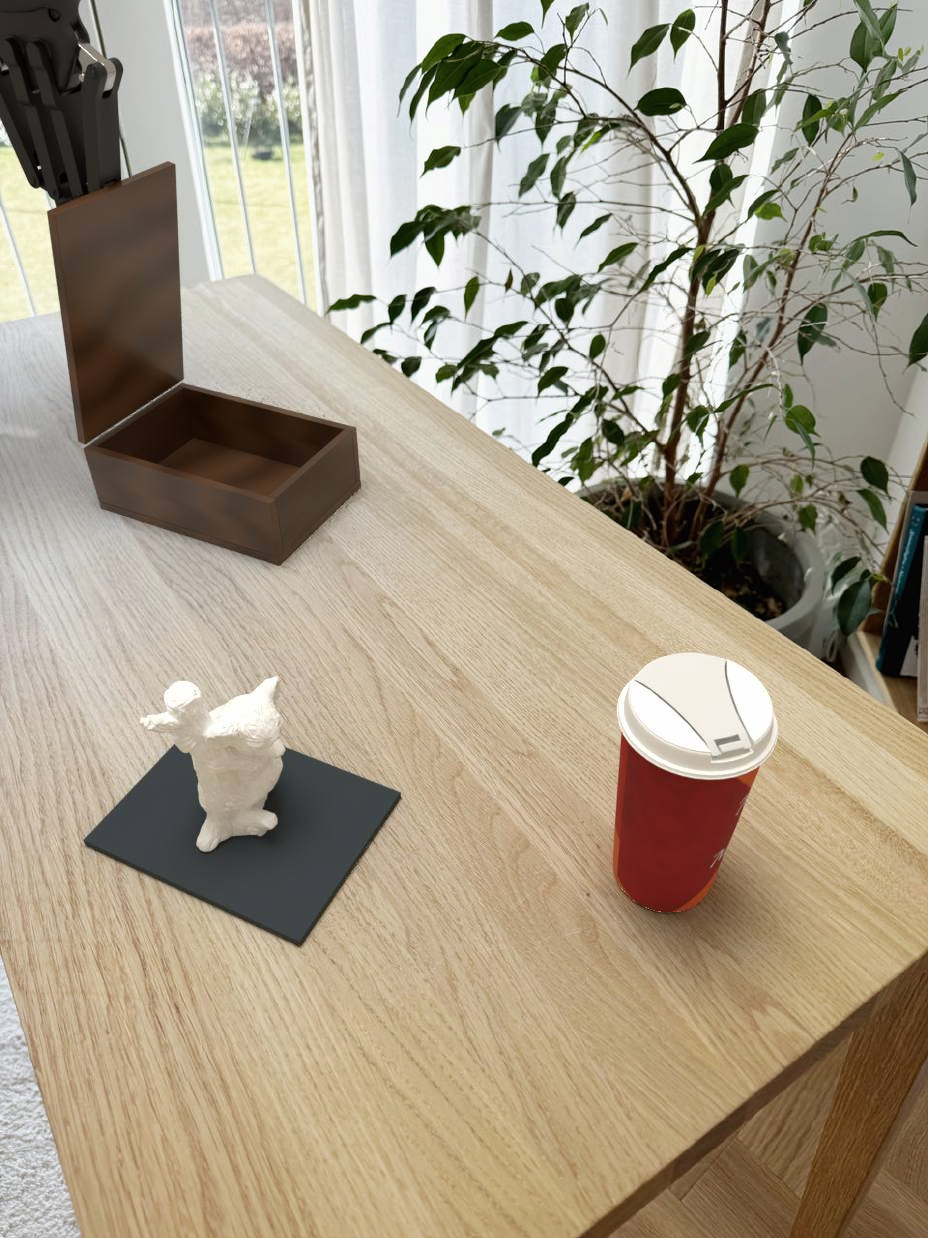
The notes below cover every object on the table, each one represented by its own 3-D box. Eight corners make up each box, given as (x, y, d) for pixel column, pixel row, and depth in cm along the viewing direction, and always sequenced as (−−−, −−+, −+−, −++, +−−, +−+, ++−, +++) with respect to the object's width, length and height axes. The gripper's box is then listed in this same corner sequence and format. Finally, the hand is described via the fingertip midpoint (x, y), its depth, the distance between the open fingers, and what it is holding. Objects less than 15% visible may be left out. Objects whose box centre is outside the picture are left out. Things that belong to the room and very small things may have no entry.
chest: (361, 486, 92) (356, 427, 87) (279, 565, 82) (269, 503, 78) (193, 439, 98) (181, 382, 94) (100, 508, 89) (82, 448, 85)
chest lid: (175, 163, 79) (167, 160, 79) (55, 214, 70) (46, 210, 70) (184, 379, 94) (177, 376, 94) (85, 445, 84) (77, 441, 84)
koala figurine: (198, 883, 58) (157, 749, 50) (157, 809, 62) (113, 674, 54) (324, 819, 62) (303, 684, 54) (277, 752, 66) (252, 618, 58)
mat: (84, 845, 61) (82, 840, 60) (203, 718, 69) (202, 713, 69) (300, 946, 55) (299, 942, 55) (401, 797, 64) (401, 792, 63)
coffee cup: (755, 911, 57) (816, 739, 47) (626, 947, 55) (661, 776, 46) (691, 802, 63) (732, 630, 53) (573, 832, 61) (593, 659, 52)
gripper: (-102, -62, 65) (7, 282, 81) (44, -52, 61) (129, 310, 77) (-16, -74, 71) (71, 252, 86) (125, -65, 66) (189, 277, 82)
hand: (98, 279), depth 81 cm, fingers closed
